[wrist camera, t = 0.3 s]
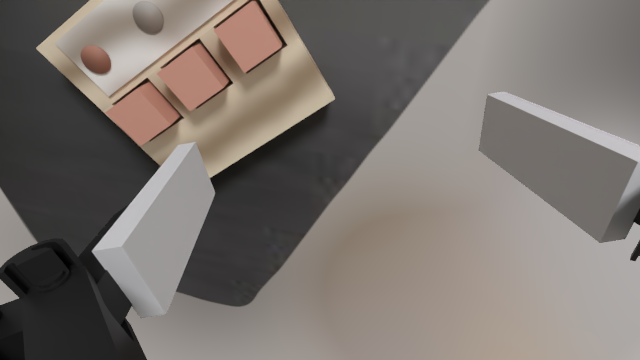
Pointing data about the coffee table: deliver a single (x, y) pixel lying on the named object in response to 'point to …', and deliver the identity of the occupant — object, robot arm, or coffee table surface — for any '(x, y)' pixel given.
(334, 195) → the coffee table surface
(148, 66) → the board
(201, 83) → the button
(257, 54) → the button
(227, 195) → the coffee table surface
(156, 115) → the button
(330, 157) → the coffee table surface
